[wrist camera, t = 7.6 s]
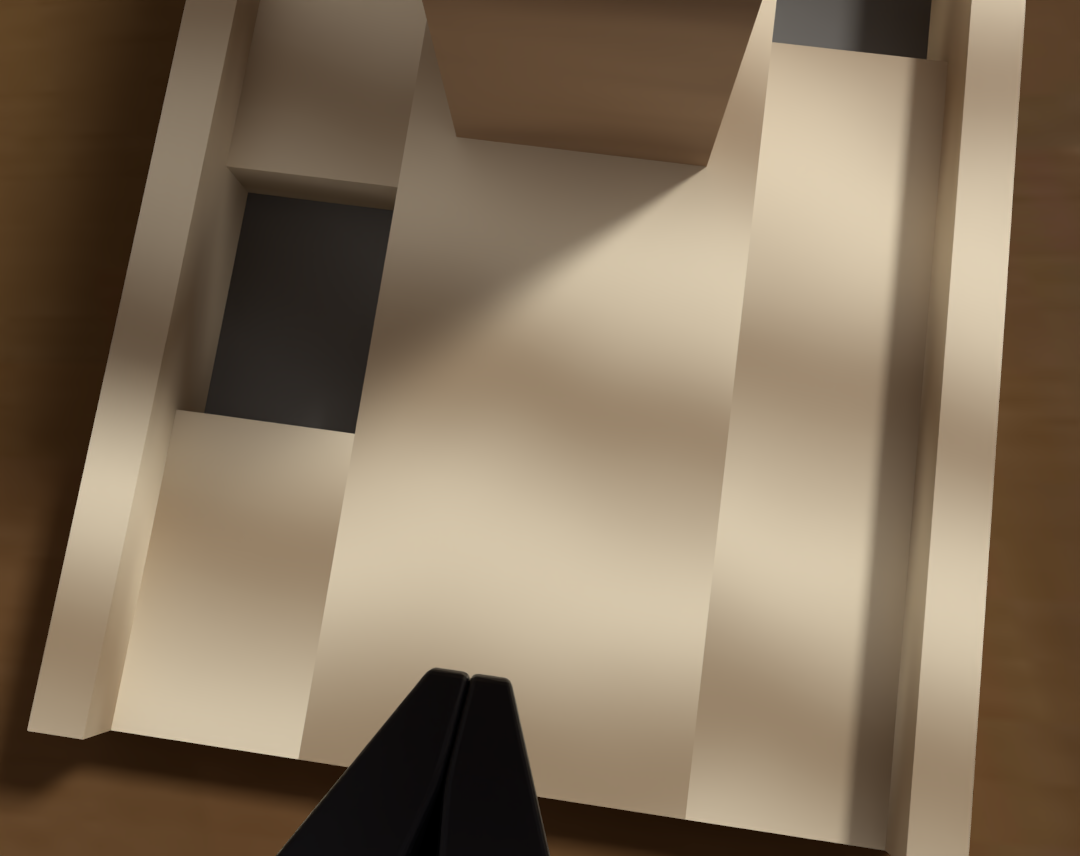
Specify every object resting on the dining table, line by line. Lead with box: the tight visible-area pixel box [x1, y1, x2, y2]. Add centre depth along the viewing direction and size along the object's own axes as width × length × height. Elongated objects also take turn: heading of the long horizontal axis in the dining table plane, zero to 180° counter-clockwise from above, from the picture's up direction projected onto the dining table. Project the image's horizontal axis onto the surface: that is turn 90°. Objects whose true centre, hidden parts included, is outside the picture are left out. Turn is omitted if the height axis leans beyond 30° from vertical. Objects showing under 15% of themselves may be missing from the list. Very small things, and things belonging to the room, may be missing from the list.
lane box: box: [27, 0, 1026, 856], centre depth 18 cm, size 27×16×4 cm, turn 172°
